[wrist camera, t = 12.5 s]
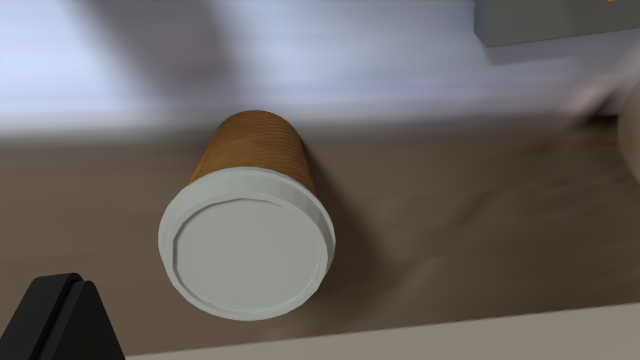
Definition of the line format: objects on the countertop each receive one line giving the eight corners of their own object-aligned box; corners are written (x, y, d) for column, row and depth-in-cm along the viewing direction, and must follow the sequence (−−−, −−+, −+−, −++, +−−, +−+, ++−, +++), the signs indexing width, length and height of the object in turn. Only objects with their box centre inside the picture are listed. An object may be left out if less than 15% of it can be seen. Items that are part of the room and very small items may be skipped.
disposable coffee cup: (338, 192, 44) (352, 308, 34) (212, 220, 45) (189, 340, 35) (307, 72, 39) (314, 164, 29) (166, 105, 40) (124, 206, 30)
